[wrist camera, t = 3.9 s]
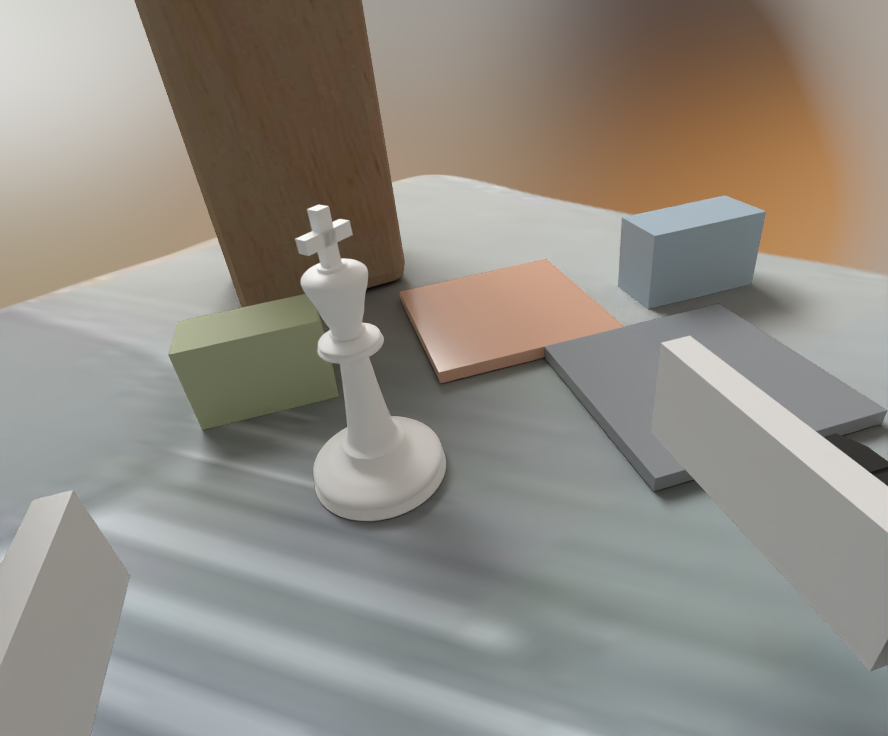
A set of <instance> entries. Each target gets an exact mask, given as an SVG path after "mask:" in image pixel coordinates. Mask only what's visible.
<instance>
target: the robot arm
mask: <svg viewBox="0 0 888 736" xmlns="http://www.w3.org/2000/svg"><path fill="white" fill-rule="evenodd" d="M651 433H652V434H653V435H654V436H655V437H656V438H657V439H658V440H659V441H660V443H661V444H662V445H663V446H664V447H665V448H666V449H667V450H668V451H669V452H670V453H671V455H672V456H673V457H674V458H675V459H676V460H677V461H678V462H679V463H680V464H681V465H682V467H683V468H684V469H685V470H686V471H687V472H688V473H689V474H690V475H691V476H692V477H693V479H694V480H695V481H696V482H697V483H698V484H699V485H700V486H701V487H702V488H703V490H704V491H705V492H706V493H707V494H708V495H709V496H710V497H711V498H712V499H713V500H714V502H715V503H716V504H717V505H718V506H719V507H720V508H721V509H722V510H723V511H724V512H725V514H726V515H727V516H728V517H729V518H730V519H731V520H732V521H733V522H734V523H735V524H736V526H737V527H738V528H739V529H740V530H741V531H742V532H743V533H744V534H745V535H746V537H747V538H748V539H749V540H750V541H751V542H752V543H753V544H754V545H755V546H756V547H757V549H758V550H759V551H760V552H761V553H762V554H763V555H764V556H765V557H766V558H767V559H768V561H769V562H770V563H771V564H772V565H773V566H774V567H775V568H776V569H777V570H778V572H779V573H780V574H781V575H782V576H783V577H784V578H785V579H786V580H787V581H788V582H789V584H790V585H791V586H792V587H793V588H794V589H795V590H796V591H797V592H798V593H799V594H800V596H801V597H802V598H803V599H804V600H805V601H806V602H807V603H808V604H809V605H810V606H811V608H812V609H813V610H814V611H815V612H816V613H817V614H818V615H819V616H820V617H821V619H822V620H823V621H824V622H825V623H826V624H827V625H828V626H829V627H830V628H831V629H832V631H833V632H834V633H835V634H836V635H837V636H838V637H839V638H840V639H841V640H842V641H843V643H844V644H845V645H846V646H847V647H848V648H849V649H850V650H851V651H852V652H853V653H854V655H855V656H856V657H857V658H858V659H859V660H860V661H861V662H862V663H863V664H864V666H865V667H866V668H867V669H868V670H869V671H873V670H875V669H878V668H881V667H883V666H886V665H888V461H887V460H885V459H884V458H882V457H881V456H880V455H878V454H877V453H875V452H874V451H873V450H871V449H870V448H869V447H867V446H865V445H862V444H860V443H858V442H855V441H853V440H851V439H849V438H846V437H844V436H842V435H839V434H837V433H835V434H832V435H828V436H825V437H822V436H821V435H820V434H818V433H817V432H816V431H815V430H813V429H812V428H811V427H809V426H808V425H807V424H805V423H804V422H803V421H801V420H800V419H799V418H797V417H796V416H795V415H794V414H792V413H791V412H790V411H788V410H787V409H786V408H784V407H783V406H782V405H780V404H779V403H778V402H776V401H775V400H774V399H773V398H771V397H770V396H769V395H767V394H766V393H765V392H763V391H762V390H761V389H759V388H758V387H757V386H755V385H754V384H753V383H752V382H750V381H749V380H748V379H746V378H745V377H744V376H742V375H741V374H740V373H738V372H737V371H736V370H734V369H733V368H732V367H731V366H729V365H728V364H727V363H725V362H724V361H723V360H721V359H720V358H719V357H717V356H716V355H715V354H713V353H712V352H711V351H710V350H708V349H707V348H706V347H704V346H703V345H702V344H700V343H699V342H698V341H696V340H695V339H694V338H692V337H691V336H686V337H682V338H678V339H674V340H670V341H666V342H662V343H661V346H660V355H659V364H658V373H657V382H656V391H655V401H654V410H653V419H652V428H651ZM129 579H130V574H129V573H128V571H127V570H126V568H125V567H124V565H123V564H122V562H121V561H120V559H119V558H118V556H117V555H116V553H115V552H114V550H113V549H112V547H111V546H110V544H109V543H108V541H107V540H106V538H105V537H104V535H103V534H102V532H101V531H100V529H99V528H98V526H97V525H96V523H95V522H94V520H93V519H92V517H91V516H90V514H89V513H88V511H87V510H86V508H85V507H84V505H83V504H82V502H81V501H80V499H79V498H78V496H77V495H76V493H75V492H74V490H70V491H66V492H62V493H58V494H54V495H50V496H46V497H42V498H38V499H34V500H32V502H31V504H30V507H29V509H28V511H27V513H26V515H25V517H24V519H23V521H22V523H21V525H20V527H19V529H18V531H17V533H16V535H15V537H14V539H13V541H12V543H11V545H10V547H9V549H8V551H7V554H6V556H5V558H4V560H3V562H2V564H1V566H0V736H90V735H91V731H92V727H93V723H94V719H95V715H96V711H97V707H98V703H99V699H100V695H101V691H102V687H103V683H104V679H105V675H106V671H107V667H108V663H109V659H110V655H111V651H112V647H113V643H114V639H115V635H116V631H117V627H118V623H119V619H120V615H121V611H122V607H123V603H124V599H125V595H126V591H127V587H128V583H129Z"/></svg>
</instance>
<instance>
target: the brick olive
mask: <svg viewBox="0 0 888 736" xmlns="http://www.w3.org/2000/svg"><path fill="white" fill-rule="evenodd" d="M323 334H324V329H323V326H322V322H321V318H320V314H319V312H318V310H317V309H316V307H315V306H314V304H313V303H312V302H311V301H310V300H309V298H308V297H307V295H306V294H303V295H298V296H293V297H289V298H284V299H279V300H275V301H270V302H265V303H261V304H256V305H252V306H247V307H242V308H238V309H233V310H228V311H224V312H219V313H215V314H210V315H205V316H201V317H196V318H191V319H187V320H182V321H178V323H177V326H176V330H175V333H174V337H173V340H172V344H171V347H170V351H169V354H168V355H169V357H170V360H171V362H172V364H173V366H174V368H175V371H176V373H177V375H178V377H179V379H180V382H181V384H182V386H183V388H184V390H185V393H186V395H187V397H188V399H189V402H190V404H191V406H192V408H193V410H194V413H195V415H196V417H197V419H198V421H199V424H200V426H201V428H202V430H205V429H209V428H213V427H217V426H221V425H225V424H229V423H233V422H238V421H242V420H246V419H250V418H254V417H258V416H262V415H266V414H270V413H274V412H278V411H282V410H286V409H290V408H294V407H299V406H303V405H307V404H311V403H315V402H319V401H323V400H327V399H331V398H335V397H339V394H338V389H337V384H336V379H335V373H334V368H333V363H331V362H327V361H325V360H323V359H322V358H320V356H319V355H318V352H317V349H318V341H319V339H320V338H321V336H322V335H323Z"/></svg>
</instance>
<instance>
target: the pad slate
mask: <svg viewBox="0 0 888 736" xmlns="http://www.w3.org/2000/svg"><path fill="white" fill-rule="evenodd" d="M686 336H691V337H692V338H694V339H695V340H696V341H698V342H699V343H700V344H702V345H703V346H704V347H706V348H707V349H708V350H710V351H711V352H712V353H713V354H715V355H716V356H717V357H719V358H720V359H721V360H723V361H724V362H725V363H727V364H728V365H729V366H731V367H732V368H733V369H734V370H736V371H737V372H738V373H740V374H741V375H742V376H744V377H745V378H746V379H748V380H749V381H750V382H752V383H753V384H754V385H755V386H757V387H758V388H759V389H761V390H762V391H763V392H765V393H766V394H767V395H769V396H770V397H771V398H773V399H774V400H775V401H776V402H778V403H779V404H780V405H782V406H783V407H784V408H786V409H787V410H788V411H790V412H791V413H792V414H794V415H795V416H796V417H797V418H799V419H800V420H801V421H803V422H804V423H805V424H807V425H808V426H809V427H811V428H812V429H813V430H815V431H816V432H817V433H818V434H820V435H821V436H822V437H825V436H828V435H832V434H835V433H837V434H839V435H845V434H849V433H852V432H855V431H859V430H862V429H865V428H869V427H872V426H875V425H879V424H882V422H883V420H884V417H885V415H886V412H887V410H886V409H885V408H883V407H881V406H880V405H878V404H877V403H875V402H874V401H872V400H870V399H869V398H867V397H866V396H864V395H862V394H861V393H859V392H858V391H856V390H855V389H853V388H851V387H850V386H848V385H847V384H845V383H844V382H842V381H840V380H839V379H837V378H836V377H834V376H833V375H831V374H829V373H828V372H826V371H825V370H823V369H822V368H820V367H818V366H817V365H815V364H814V363H812V362H811V361H809V360H807V359H806V358H804V357H803V356H801V355H799V354H798V353H796V352H795V351H793V350H792V349H790V348H788V347H787V346H785V345H784V344H782V343H781V342H779V341H777V340H776V339H774V338H773V337H771V336H770V335H768V334H766V333H765V332H763V331H762V330H760V329H759V328H757V327H755V326H754V325H752V324H751V323H749V322H748V321H746V320H744V319H743V318H741V317H740V316H738V315H736V314H735V313H733V312H732V311H730V310H729V309H727V308H725V307H724V306H722V305H721V304H715V305H711V306H707V307H703V308H699V309H695V310H691V311H686V312H682V313H678V314H674V315H670V316H666V317H662V318H658V319H654V320H650V321H646V322H642V323H638V324H634V325H630V326H626V327H621V328H617V329H613V330H609V331H605V332H601V333H597V334H593V335H589V336H585V337H581V338H577V339H573V340H569V341H565V342H561V343H556V344H552V345H548V346H544V356H545V359H546V360H547V361H548V362H549V364H550V365H551V366H552V367H553V369H554V370H555V371H556V372H557V373H558V375H559V376H560V377H561V378H562V380H563V381H564V382H565V383H566V384H567V386H568V387H569V388H570V389H571V391H572V392H573V393H574V394H575V396H576V397H577V398H578V399H579V400H580V402H581V403H582V404H583V405H584V407H585V408H586V409H587V410H588V411H589V413H590V414H591V415H592V416H593V418H594V419H595V420H596V421H597V423H598V424H599V425H600V426H601V427H602V429H603V430H604V431H605V432H606V434H607V435H608V436H609V437H610V439H611V440H612V441H613V442H614V443H615V445H616V446H617V447H618V448H619V450H620V451H621V452H622V453H623V454H624V456H625V457H626V458H627V459H628V461H629V462H630V463H631V464H632V466H633V467H634V468H635V469H636V470H637V472H638V473H639V474H640V475H641V477H642V478H643V479H644V480H645V481H646V483H647V484H648V485H649V486H650V488H651V489H652V490H653V491H657V490H660V489H664V488H667V487H671V486H674V485H677V484H681V483H684V482H687V481H691V480H694V479H693V477H692V476H691V475H690V474H689V473H688V472H687V471H686V470H685V469H684V468H683V467H682V465H681V464H680V463H679V462H678V461H677V460H676V459H675V458H674V457H673V456H672V455H671V453H670V452H669V451H668V450H667V449H666V448H665V447H664V446H663V445H662V444H661V443H660V441H659V440H658V439H657V438H656V437H655V436H654V435H653V434H652V433H651V428H652V419H653V410H654V401H655V391H656V382H657V373H658V364H659V355H660V346H661V343H662V342H666V341H670V340H674V339H678V338H682V337H686Z"/></svg>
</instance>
